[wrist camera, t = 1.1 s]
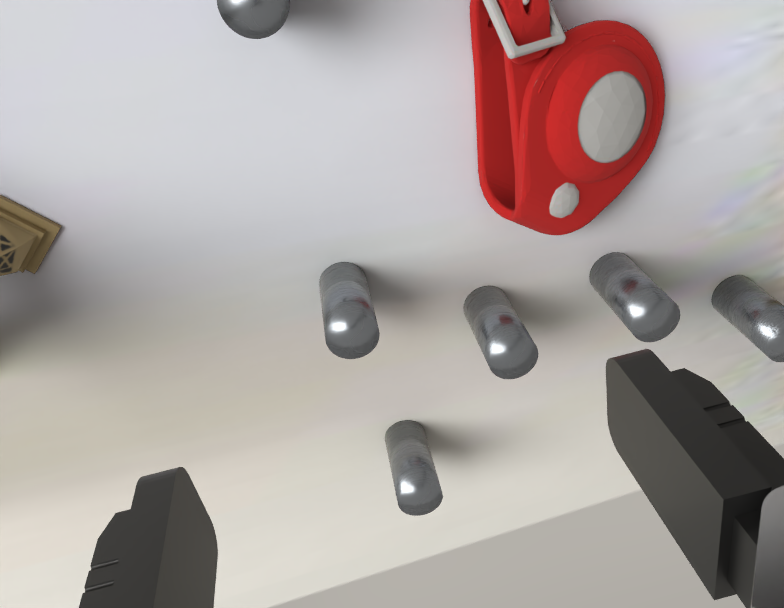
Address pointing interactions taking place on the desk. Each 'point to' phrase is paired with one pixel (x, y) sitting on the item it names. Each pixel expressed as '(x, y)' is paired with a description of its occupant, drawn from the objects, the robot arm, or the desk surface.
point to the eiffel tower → (23, 237)
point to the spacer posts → (500, 311)
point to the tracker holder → (560, 112)
